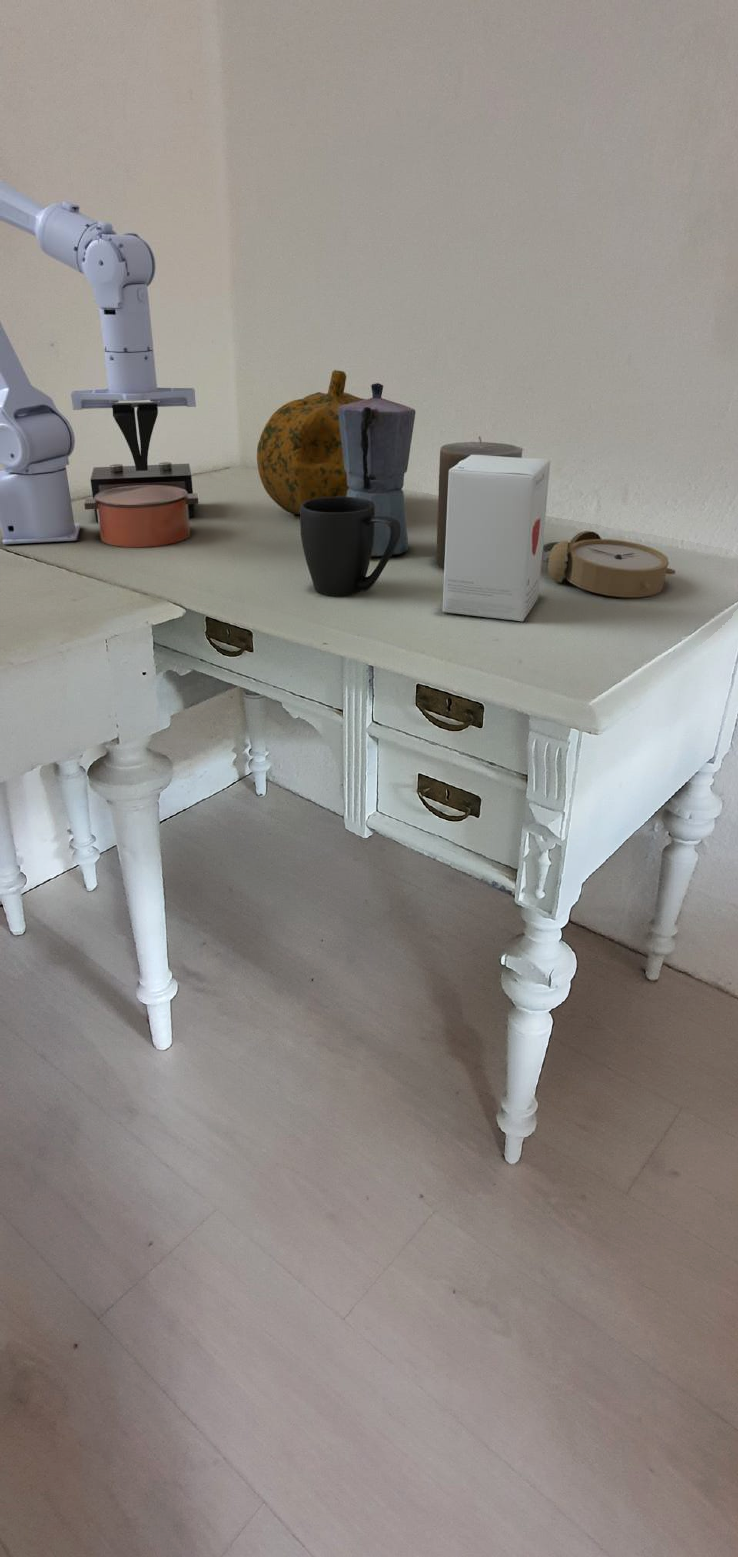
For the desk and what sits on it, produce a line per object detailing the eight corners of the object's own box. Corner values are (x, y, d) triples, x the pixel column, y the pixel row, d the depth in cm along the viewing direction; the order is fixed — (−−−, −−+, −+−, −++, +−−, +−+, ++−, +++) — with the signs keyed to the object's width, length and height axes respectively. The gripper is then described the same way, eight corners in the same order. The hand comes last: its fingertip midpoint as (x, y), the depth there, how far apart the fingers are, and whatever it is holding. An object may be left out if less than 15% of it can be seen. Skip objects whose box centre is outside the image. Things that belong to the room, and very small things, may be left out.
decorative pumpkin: (246, 496, 149) (250, 355, 139) (377, 499, 154) (389, 364, 144) (267, 533, 132) (273, 376, 122) (413, 536, 138) (430, 386, 128)
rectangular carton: (524, 623, 100) (536, 474, 93) (440, 614, 102) (445, 468, 95) (541, 597, 107) (553, 457, 100) (462, 589, 110) (468, 452, 103)
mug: (373, 611, 103) (373, 521, 99) (287, 591, 110) (284, 506, 105) (416, 592, 109) (418, 506, 105) (332, 574, 115) (330, 492, 111)
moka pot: (415, 536, 131) (419, 377, 121) (408, 569, 117) (411, 393, 107) (345, 535, 131) (343, 376, 122) (330, 567, 118) (326, 392, 108)
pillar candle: (448, 577, 114) (452, 444, 107) (427, 555, 123) (430, 430, 115) (526, 572, 116) (536, 441, 109) (501, 550, 124) (508, 428, 117)
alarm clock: (647, 579, 103) (526, 533, 110) (633, 621, 106) (517, 574, 112) (686, 556, 111) (571, 514, 118) (672, 595, 114) (561, 552, 120)
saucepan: (88, 550, 125) (81, 507, 123) (91, 527, 136) (86, 487, 133) (203, 543, 128) (199, 501, 125) (198, 521, 138) (194, 482, 136)
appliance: (96, 522, 138) (89, 473, 135) (99, 508, 146) (92, 461, 143) (195, 517, 141) (190, 469, 137) (192, 503, 148) (188, 457, 145)
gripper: (62, 354, 109) (79, 477, 116) (192, 352, 112) (201, 473, 118) (67, 349, 116) (83, 466, 122) (190, 347, 118) (199, 462, 124)
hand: (142, 469), depth 121 cm, fingers closed
